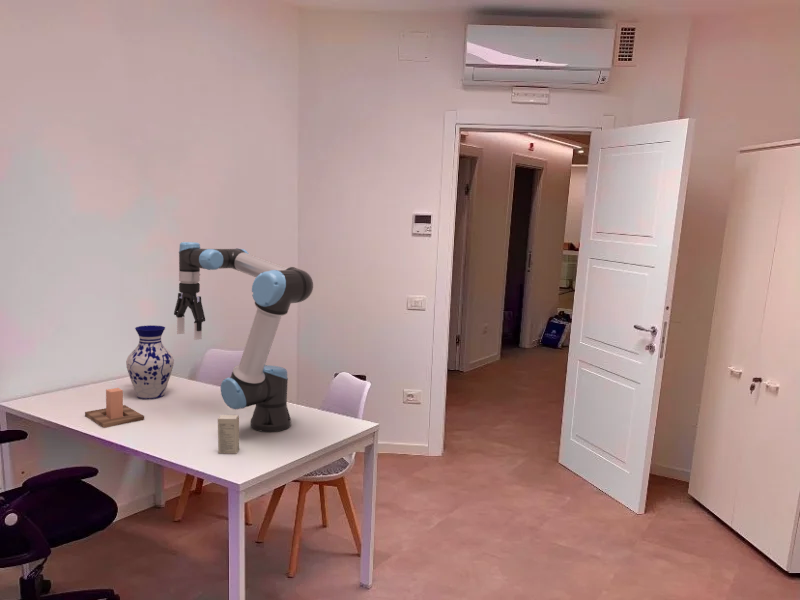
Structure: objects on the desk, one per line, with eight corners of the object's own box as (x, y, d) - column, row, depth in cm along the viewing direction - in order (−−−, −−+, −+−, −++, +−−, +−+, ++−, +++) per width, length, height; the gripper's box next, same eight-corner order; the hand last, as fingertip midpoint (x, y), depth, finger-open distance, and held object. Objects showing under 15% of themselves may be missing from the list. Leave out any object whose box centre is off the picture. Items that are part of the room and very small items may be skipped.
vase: (174, 400, 256) (174, 331, 252) (125, 403, 249) (124, 332, 245) (173, 388, 274) (173, 323, 270) (127, 391, 267) (127, 324, 263)
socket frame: (144, 419, 230) (144, 416, 230) (103, 428, 220) (103, 424, 219) (124, 408, 243) (124, 404, 242) (85, 415, 232) (84, 411, 232)
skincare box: (239, 449, 206) (240, 414, 204) (236, 454, 201) (237, 418, 200) (220, 448, 205) (220, 414, 204) (217, 453, 201) (217, 418, 200)
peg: (123, 418, 231) (122, 390, 230) (110, 420, 228) (110, 392, 227) (118, 415, 234) (118, 387, 233) (106, 417, 231) (106, 389, 230)
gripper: (215, 285, 226) (214, 340, 229) (183, 278, 243) (182, 330, 246) (196, 285, 221) (196, 342, 223) (165, 279, 238) (165, 332, 240)
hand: (189, 336), depth 234 cm, fingers open, 13 cm apart
